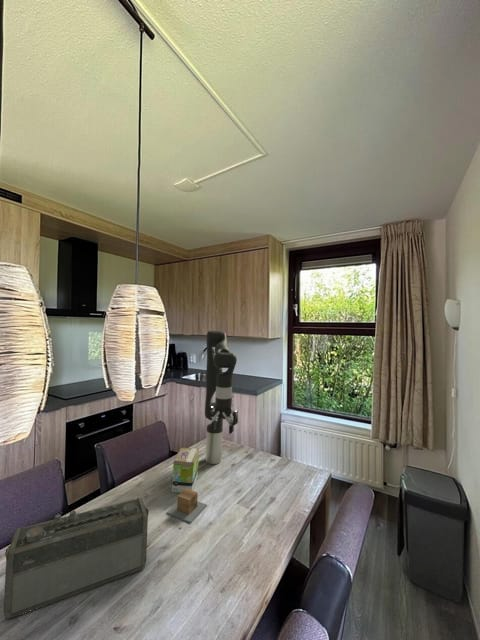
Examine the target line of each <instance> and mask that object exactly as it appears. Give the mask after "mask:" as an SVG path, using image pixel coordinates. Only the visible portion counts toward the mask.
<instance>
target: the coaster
mask: <svg viewBox="0 0 480 640" xmlns="http://www.w3.org/2000/svg"><path fill="white" fill-rule="evenodd" d="M207 507H208V504H207V503H203V502H201V501H198V500H197V507H196V508H195V509H194V510H193V511H192V512H191V513H190V514H189V515H188V514H185V513H183V512H180V511H178V510H177V503H176V502H175V504H174V505H173V506H172V507H171V508H169V509H168V510H167V512H166V514H167V515H169V516H172V517H174V518H177V519H179V520H181V521H184V522H186V523H189V524H191V523H193V522H194V520H196V518H197V517H198V516H199V515H200V514H201V513H202V512H203V511H204V510H205V509H206V508H207Z"/></svg>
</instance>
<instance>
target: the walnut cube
mask: <svg viewBox="0 0 480 640" xmlns="http://www.w3.org/2000/svg"><path fill="white" fill-rule="evenodd" d="M198 493H199V492H198V491H195V490H193V491H192V490H189V489H185V490H184V491H183V492H182V493H179V494H178V495H177V510H178V511H180V512H183V513H185V514H188V515H189V514H190V513H191V512H192V511H193V510H194V509H195V508H196V507H197V501H198V498H199V497H198V495H199V494H198Z"/></svg>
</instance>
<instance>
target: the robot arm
mask: <svg viewBox="0 0 480 640" xmlns="http://www.w3.org/2000/svg"><path fill="white" fill-rule="evenodd" d="M227 339H228V338H227V333H226V332H224V331H223V330H209V331H207V333H206V371H205V374H206V375H205V378H206V379H205V380H206V383H205V385H206V386H205V387H206V388H205V389H206V390H205V402H204V403H205V405H204V417H205V419H208V421H211V423H208V424H207V426H206V436H205V437H206V441H205V462H206V464H211V465H216V464H217V465H218V464H220V463H221V462H222V458H223V427H224V425H223V424H224V420H226V422H227V423H228V425H229V427H228V434H229V435H232V433H234V428H235V427H234V426H236V425H238V424H239V416H238V415H239V414H238V413H239V411H238V410H232V404H233V403H232V402H233V401H232V398H233V375H234V371H235V368H236V366H237V365H236V364H237V361H238V360H237V359H238V358H237V356H236V354H235V353H234V352H230V349H229V348H228V340H227ZM213 348H214V351H213ZM223 369H227V370H225V371H224V372H223ZM214 395H215V402H212V398H213V396H214Z"/></svg>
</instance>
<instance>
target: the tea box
mask: <svg viewBox="0 0 480 640" xmlns="http://www.w3.org/2000/svg"><path fill="white" fill-rule="evenodd" d="M199 457H200V449H199V448H195V447H194V448H192V447H180V448H179V451H178V452H177V454H176V456H175V458H174V459H173V465H172V480H171V481H172V484H171V493H176V494H177V493H179V494H180V493H182V492H183V491H184V490H185V489H189V490H192V491H194V488H195V485H196V482H197V479H198V476H199V474H198V473H199Z"/></svg>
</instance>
